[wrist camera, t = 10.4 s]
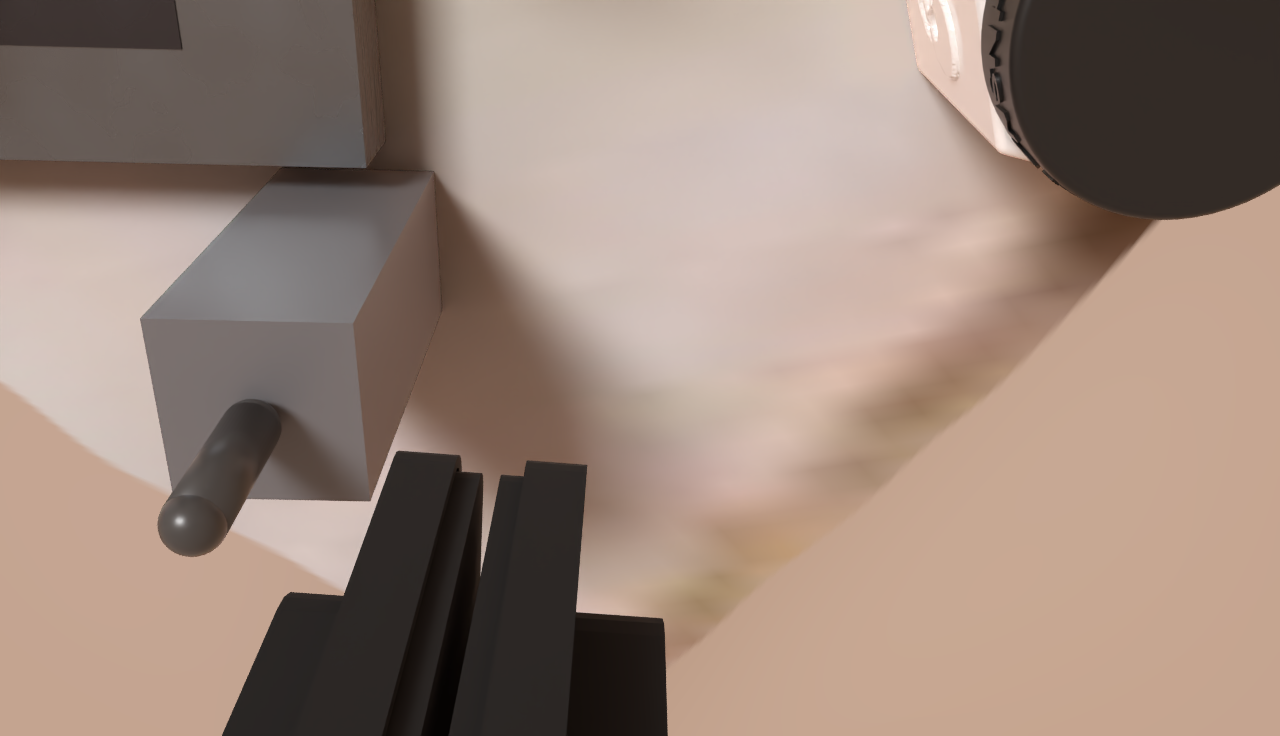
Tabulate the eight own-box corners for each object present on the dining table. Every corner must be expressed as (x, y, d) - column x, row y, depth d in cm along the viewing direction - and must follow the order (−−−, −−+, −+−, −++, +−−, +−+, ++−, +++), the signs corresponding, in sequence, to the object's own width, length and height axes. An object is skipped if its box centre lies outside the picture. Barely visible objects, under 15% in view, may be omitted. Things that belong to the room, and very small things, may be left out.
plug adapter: (281, 167, 38) (32, 433, 22) (433, 171, 38) (291, 439, 22) (297, 307, 40) (82, 636, 25) (442, 310, 40) (317, 641, 25)
